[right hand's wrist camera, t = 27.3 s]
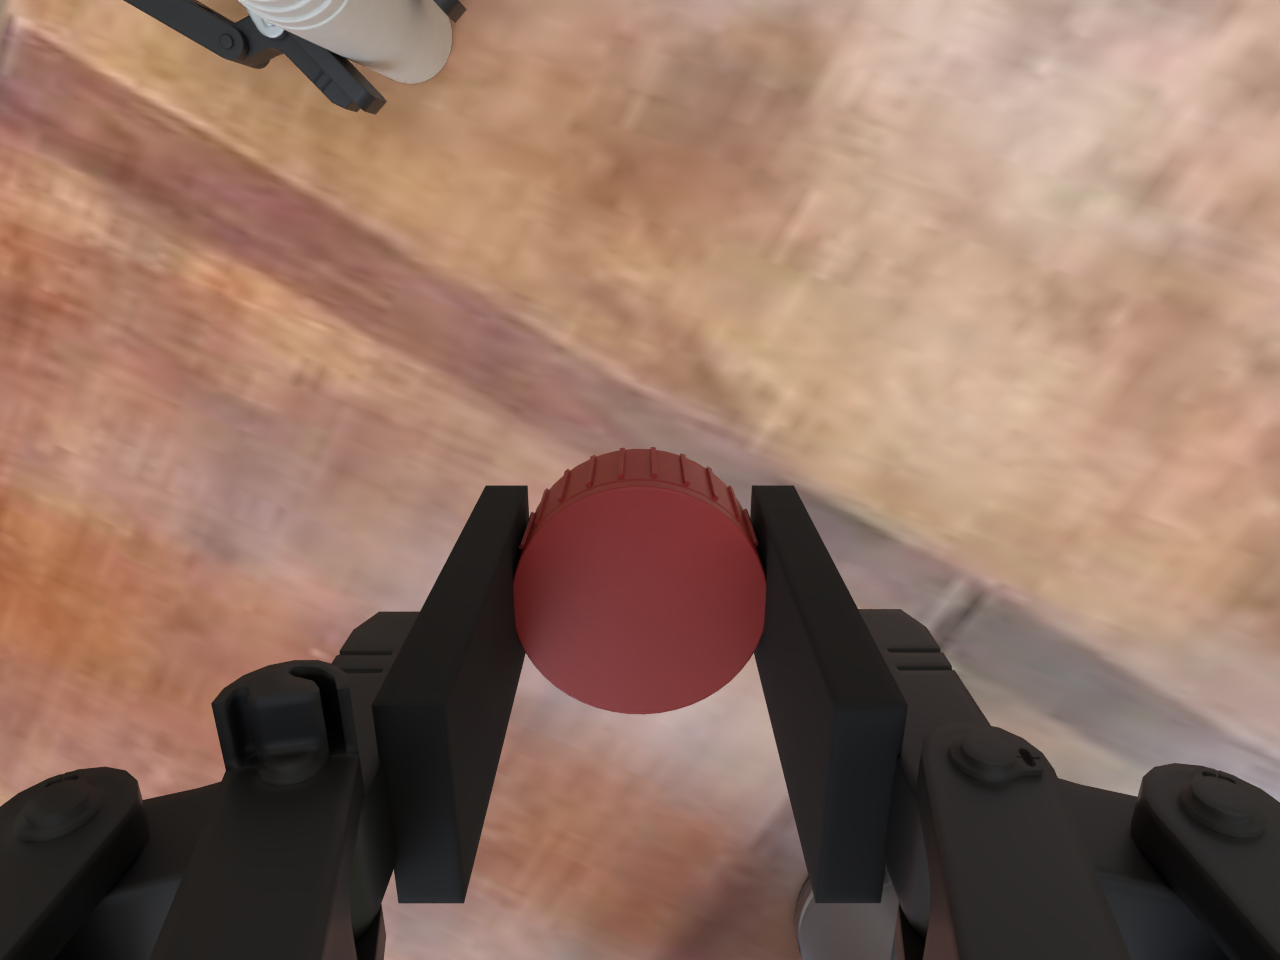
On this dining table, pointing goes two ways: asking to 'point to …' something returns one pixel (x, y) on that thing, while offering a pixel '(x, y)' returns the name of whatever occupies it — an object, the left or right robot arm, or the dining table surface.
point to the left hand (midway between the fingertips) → (414, 58)
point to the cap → (639, 583)
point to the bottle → (369, 32)
